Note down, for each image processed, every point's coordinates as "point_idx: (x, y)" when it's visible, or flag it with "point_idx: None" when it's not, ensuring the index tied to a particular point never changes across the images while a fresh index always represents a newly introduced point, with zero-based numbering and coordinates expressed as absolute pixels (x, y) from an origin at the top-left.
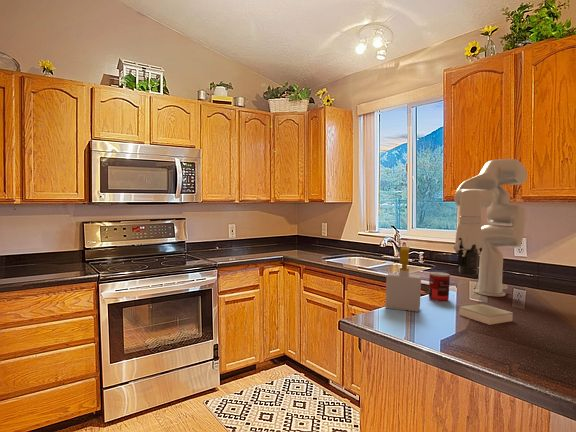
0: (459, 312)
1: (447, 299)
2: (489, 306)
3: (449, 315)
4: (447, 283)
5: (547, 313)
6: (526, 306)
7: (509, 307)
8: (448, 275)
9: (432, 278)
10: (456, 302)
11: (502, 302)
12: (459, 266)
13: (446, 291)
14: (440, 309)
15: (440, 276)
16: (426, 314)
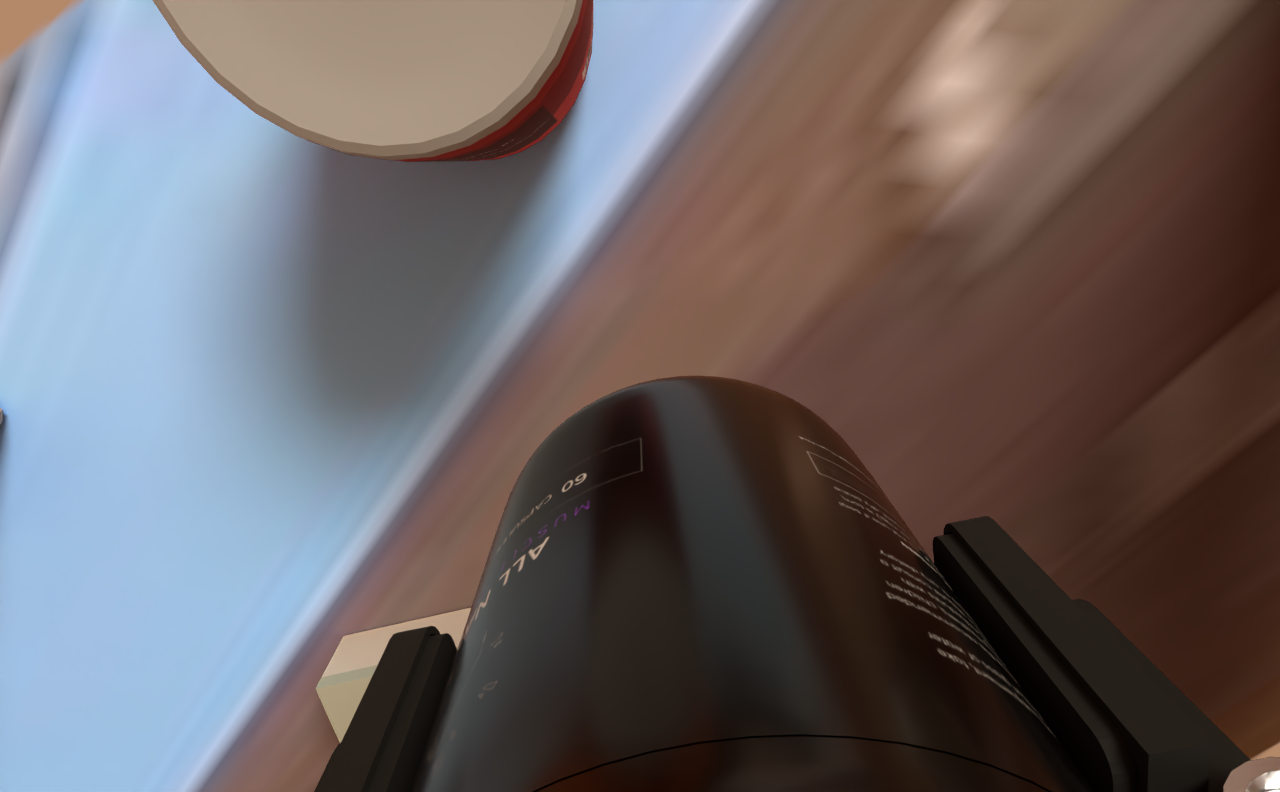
0: (336, 651)
1: (530, 145)
2: None
3: (237, 643)
4: (480, 151)
5: (1202, 652)
6: (1269, 444)
7: (1055, 461)
8: (479, 131)
9: None
10: (616, 214)
11: (1182, 272)
12: (486, 562)
13: (485, 158)
14: (245, 465)
15: (280, 124)
16: (13, 602)
